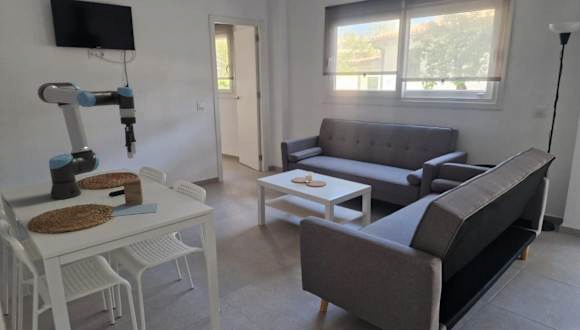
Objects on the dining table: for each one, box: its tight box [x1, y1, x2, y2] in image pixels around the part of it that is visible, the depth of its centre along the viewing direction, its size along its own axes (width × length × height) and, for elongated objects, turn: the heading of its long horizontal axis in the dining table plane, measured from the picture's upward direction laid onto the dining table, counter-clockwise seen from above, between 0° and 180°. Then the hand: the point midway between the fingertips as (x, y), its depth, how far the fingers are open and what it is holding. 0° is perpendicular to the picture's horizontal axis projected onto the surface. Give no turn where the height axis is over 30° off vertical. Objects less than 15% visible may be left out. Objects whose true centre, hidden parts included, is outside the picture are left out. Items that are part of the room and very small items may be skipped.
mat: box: [111, 202, 158, 217], centre depth 186 cm, size 14×24×1 cm, turn 107°
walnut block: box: [122, 178, 144, 206], centre depth 195 cm, size 5×8×13 cm, turn 107°
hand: (132, 155), depth 200 cm, fingers open, 12 cm apart
